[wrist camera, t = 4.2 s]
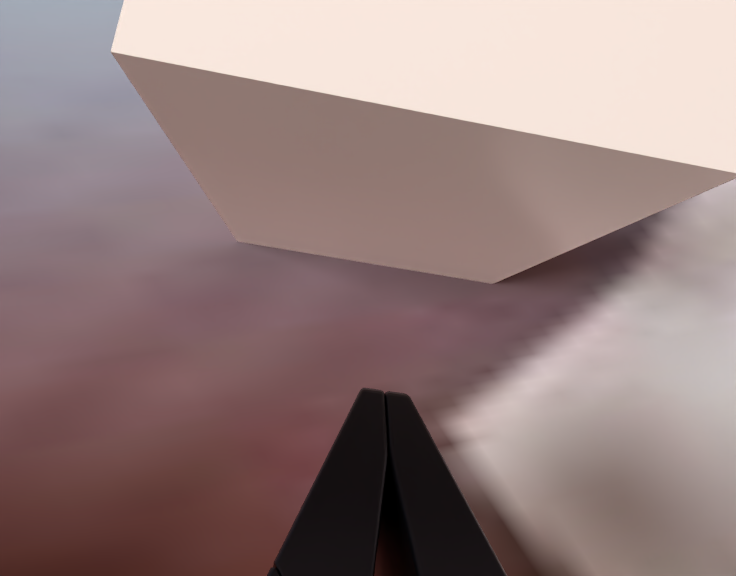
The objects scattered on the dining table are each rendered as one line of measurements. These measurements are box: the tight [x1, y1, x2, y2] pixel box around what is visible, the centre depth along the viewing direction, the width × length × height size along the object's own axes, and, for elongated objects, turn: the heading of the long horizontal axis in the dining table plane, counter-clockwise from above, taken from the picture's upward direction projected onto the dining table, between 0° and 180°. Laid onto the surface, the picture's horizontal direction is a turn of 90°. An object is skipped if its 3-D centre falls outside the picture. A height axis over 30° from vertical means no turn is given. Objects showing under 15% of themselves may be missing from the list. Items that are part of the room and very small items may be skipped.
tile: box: [111, 0, 736, 284], centre depth 12 cm, size 3×9×10 cm, turn 82°
